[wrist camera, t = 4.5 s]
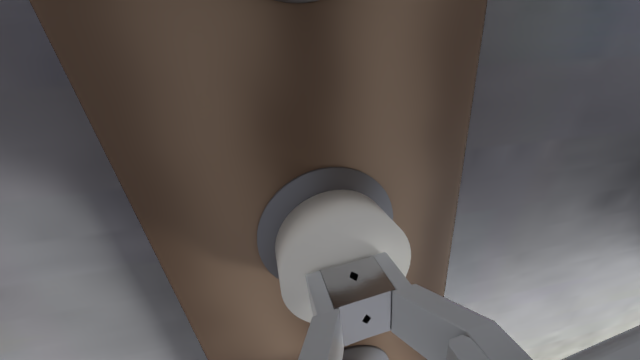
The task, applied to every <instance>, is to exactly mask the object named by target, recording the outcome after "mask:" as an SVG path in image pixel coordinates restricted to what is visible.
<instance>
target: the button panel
mask: <svg viewBox="0 0 640 360" xmlns="http://www.w3.org/2000/svg"><path fill="white" fill-rule="evenodd" d="M29 1H30V3H31V5H32V7H33V9H34V11H35V13H36V15H37V17H38V19H39V21H40V23H41V25H42V27H43V29H44V31H45V33H46V35H47V37H48V39H49V41H50V43H51V45H52V47H53V49H54V51H55V53H56V55H57V57H58V59H59V61H60V63H61V65H62V67H63V69H64V71H65V73H66V75H67V77H68V79H69V81H70V83H71V85H72V87H73V89H74V91H75V93H76V95H77V97H78V99H79V101H80V103H81V105H82V107H83V109H84V111H85V113H86V115H87V117H88V119H89V121H90V123H91V125H92V127H93V129H94V131H95V133H96V135H97V137H98V139H99V141H100V143H101V145H102V147H103V149H104V152H105V154H106V156H107V158H108V160H109V162H110V164H111V166H112V168H113V170H114V172H115V174H116V176H117V178H118V180H119V182H120V184H121V186H122V188H123V190H124V192H125V194H126V196H127V198H128V200H129V202H130V204H131V206H132V208H133V210H134V212H135V214H136V216H137V218H138V220H139V222H140V224H141V226H142V228H143V230H144V232H145V234H146V236H147V238H148V240H149V242H150V244H151V246H152V248H153V250H154V252H155V254H156V256H157V258H158V260H159V262H160V264H161V266H162V268H163V270H164V272H165V274H166V276H167V278H168V280H169V282H170V284H171V286H172V288H173V290H174V292H175V294H176V296H177V298H178V300H179V302H180V304H181V306H182V308H183V310H184V312H185V314H186V316H187V318H188V320H189V323H190V325H191V327H192V329H193V331H194V333H195V335H196V337H197V339H198V341H199V343H200V345H201V347H202V349H203V351H204V353H205V355H206V357H207V359H208V360H298V358H299V355H300V352H301V349H302V346H303V343H304V340H305V337H306V334H307V332H308V329H309V326H310V322H307V321H304V320H302V319H300V318H298V317H297V316H295V315H294V314H293V313H292V312H291V311H290V310H289V309H288V308H287V306H286V305H285V303H284V301H283V298H282V295H281V288H280V281H279V274H278V267H277V260H276V254H275V242H276V237H277V234H278V231H279V229H280V227H281V225H282V223H283V221H284V220H285V218H286V217H287V216H288V215H289V214H290V212H291V211H292V210H293V209H294V208H296V207H297V206H298V205H299V204H301V203H302V202H303V201H305V200H307V199H309V198H310V197H312V196H315V195H317V194H320V193H323V192H326V191H332V190H352V191H356V192H359V193H362V194H364V195H366V196H368V197H369V198H371V199H372V200H373V201H374V202H375V203H376V204H377V205H378V206H379V207H380V208H381V209H382V210H383V211H384V212H385V213H386V214H387V215H388V216H389V217H390V218H391V219H392V220H393V221H394V222H395V223H396V224H397V225H398V226H399V227H400V228H401V230H402V231H403V232H404V233H405V235H406V237H407V238H408V241H409V244H410V248H411V261H410V266H409V270H408V273H407V275H406V278H407V280H408V281H409V282H410V284H411V285H413V284H417V285H419V286H421V287H423V288H425V289H428V290H430V291H432V292H434V293H436V294H438V295H440V296H442V297H444V291H445V284H446V278H447V271H448V264H449V257H450V250H451V244H452V237H453V230H454V223H455V217H456V210H457V203H458V196H459V189H460V183H461V176H462V169H463V162H464V156H465V149H466V142H467V135H468V128H469V122H470V115H471V108H472V101H473V95H474V88H475V81H476V74H477V67H478V61H479V54H480V47H481V40H482V34H483V27H484V20H485V13H486V6H487V0H29ZM342 360H427V359H426V358H425V357H423V356H422V355H421V354H420V353H418V352H417V351H416V350H414V349H413V348H412V347H410V346H409V345H408V344H407V343H405V342H404V341H403V340H401V339H400V338H399V337H397V336H396V335H395V334H394V333H392V332H391V331H388V332H384V333H381V334H378V335H375V336H372V337H369V338H366V339H363V340H361V341H358V342H355V343H353V344H350V345H348V346H345V347H344V352H343V359H342Z"/></svg>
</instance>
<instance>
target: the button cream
mask: <svg viewBox="0 0 640 360" xmlns="http://www.w3.org/2000/svg"><path fill="white" fill-rule="evenodd" d="M382 252H385V253H387V254H388V255H389V257H390V258H391V259H392V261H393V262H394V263H395V264H396V266H397V267H398V268H399V269H400V271H401V272H402V273H403V275H404V276H405V277H406V275H407V273H408V270H409V266H410V261H411V248H410V244H409V241H408V238H407V237H406V235H405V233H404V232H403V231H402V230H401V228H400V227H399V226H398V225H397V224H396V223H395V222H394V221H393V220H392V219H391V218H390V217H389V216H388V215H387V214H386V213H385V212H384V211H383V210H382V209H381V208H380V207H379V206H378V205H377V204H376V203H375V202H374V201H373V200H372V199H371V198H369V197H368V196H366V195H364V194H362V193H359V192H356V191H352V190H332V191H326V192H323V193H320V194H317V195H315V196H312V197H310V198H309V199H307V200H305V201H303V202H302V203H301V204H299V205H298V206H297V207H296V208H294V209H293V210H292V211H291V212H290V214H289V215H288V216H287V217H286V218H285V220H284V221H283V223H282V225H281V227H280V229H279V231H278V234H277V237H276V242H275V254H276V260H277V267H278V274H279V281H280V288H281V295H282V298H283V301H284V303H285V305H286V306H287V308H288V309H289V310H290V311H291V312H292V313H293V314H294V315H295V316H297V317H298V318H300V319H302V320H304V321H307V322H310V323H311V320H312V317H313V313H312V309H311V304H310V299H309V294H308V288H307V282H306V277H305V275H306V274H308V273H312V272H316V271H320V270H322V269H326V268H330V267H334V266H338V265H342V264H345V263H348V262H352V261H355V260H358V259H362V258H365V257H369V256H372V255H375V254H379V253H382Z"/></svg>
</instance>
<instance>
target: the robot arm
mask: <svg viewBox="0 0 640 360" xmlns="http://www.w3.org/2000/svg"><path fill="white" fill-rule="evenodd" d="M305 277H306V282H307V288H308V294H309V299H310V304H311V309H312V313H313V317H312V320H311V323H310V326H309V329H308V332H307V334H306V337H305V340H304V343H303V346H302V349H301V352H300V355H299V358H298V360H342V359H343V352H344V347H345V346H348V345H350V344H353V343H355V342H358V341H361V340H363V339H366V338H369V337H372V336H375V335H378V334H381V333H384V332H388V331H391V332H392V333H394V334H395V335H396V336H397V337H399V338H400V339H401V340H403V341H404V342H405V343H407V344H408V345H409V346H410V347H412V348H413V349H414V350H416V351H417V352H418V353H420V354H421V355H422V356H423V357H425V358H426V359H427V360H532V359H531V358H530V357H529V356H528V354H527V353H526V352H525V351H524V350H523V349H522V348H521V347H520V346H519V345H518V344H517V343H516V342H515V341H514V340H513V339H512V338H511V337H510V336H509V335H508V334H507V333H506V332H505V331H504V330H503V329H502V328H501V327H500V326H499V325H498V324H497V323H496V322H495V321H493V320H491V319H489V318H487V317H484V316H482V315H480V314H478V313H476V312H474V311H472V310H470V309H468V308H465V307H463V306H461V305H459V304H457V303H455V302H453V301H451V300H449V299H447V298H444V297H442V296H440V295H438V294H436V293H434V292H432V291H430V290H428V289H425V288H423V287H421V286H419V285H417V284H413V285H411V284H410V282H409V281H408V280H407V278H406V277H405V276H404V275H403V273H402V272H401V271H400V269H399V268H398V267H397V266H396V264H395V263H394V262H393V261H392V259H391V258H390V257H389V255H388V254H387V253H385V252H382V253H379V254H375V255H372V256H369V257H365V258H362V259H358V260H355V261H352V262H348V263H345V264H342V265H338V266H334V267H330V268H326V269H322V270H320V271H316V272H312V273H308V274H306V275H305ZM562 360H640V325H639V326H636V327H634V328H632V329H630V330H627V331H625V332H623V333H621V334H618V335H616V336H614V337H612V338H609V339H607V340H605V341H602V342H600V343H598V344H596V345H593V346H591V347H589V348H587V349H584V350H582V351H580V352H578V353H575V354H573V355H571V356H569V357H566V358H564V359H562Z"/></svg>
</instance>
